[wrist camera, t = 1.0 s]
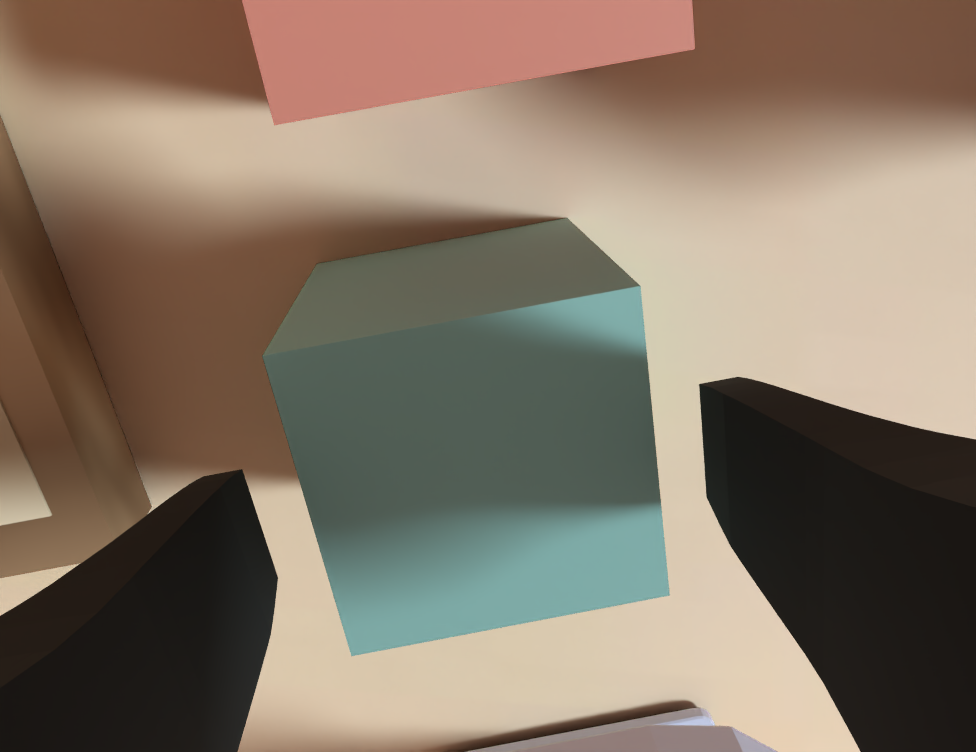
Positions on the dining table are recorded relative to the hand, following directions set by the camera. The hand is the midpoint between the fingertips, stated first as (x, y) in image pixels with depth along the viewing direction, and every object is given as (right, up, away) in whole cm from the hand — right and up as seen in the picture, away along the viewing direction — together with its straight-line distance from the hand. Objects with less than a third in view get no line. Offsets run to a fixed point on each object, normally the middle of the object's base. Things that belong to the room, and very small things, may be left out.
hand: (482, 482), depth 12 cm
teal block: (0, +2, +6) cm, 6 cm away
